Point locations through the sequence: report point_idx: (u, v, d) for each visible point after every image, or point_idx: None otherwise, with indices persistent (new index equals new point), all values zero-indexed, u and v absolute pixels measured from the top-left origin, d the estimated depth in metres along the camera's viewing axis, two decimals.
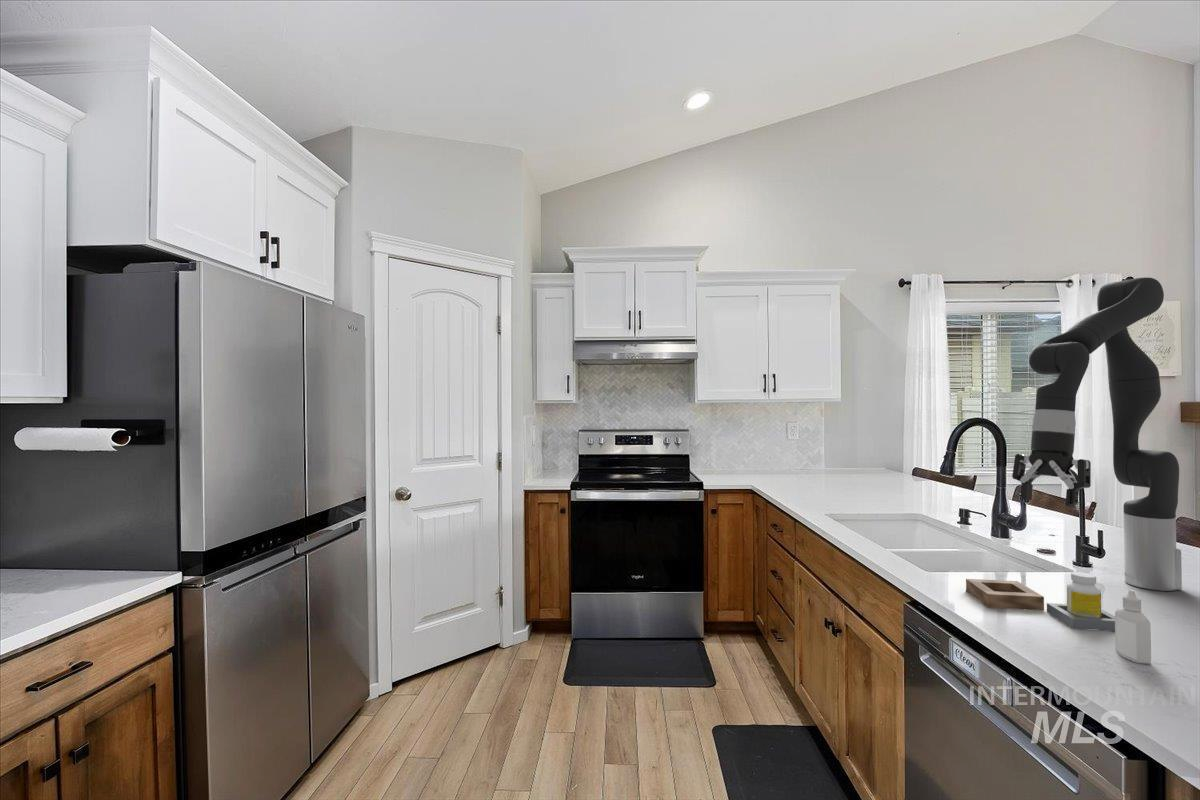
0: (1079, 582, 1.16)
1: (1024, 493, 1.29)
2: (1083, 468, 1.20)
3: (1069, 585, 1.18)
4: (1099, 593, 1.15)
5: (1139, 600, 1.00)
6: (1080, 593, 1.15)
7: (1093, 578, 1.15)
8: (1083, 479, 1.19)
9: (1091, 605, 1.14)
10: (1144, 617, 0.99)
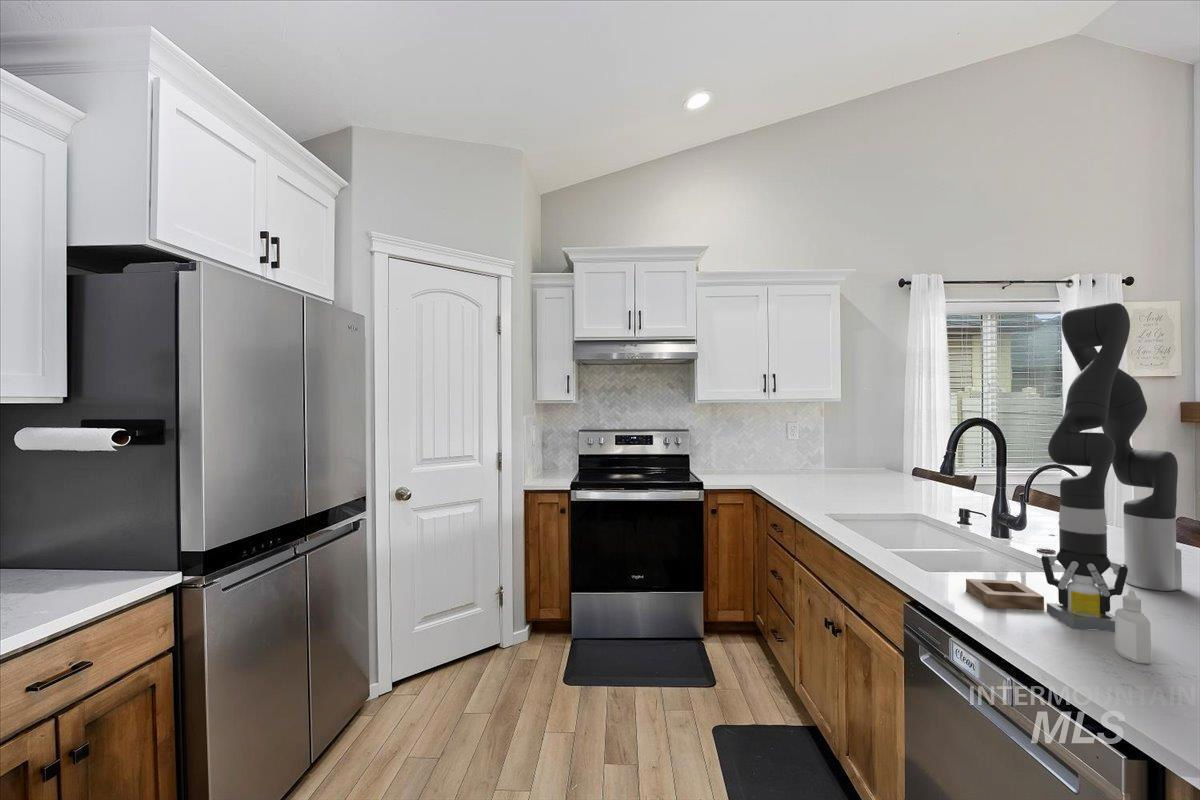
0: (1079, 582, 1.16)
1: (1064, 600, 1.18)
2: (1125, 577, 1.12)
3: (1069, 585, 1.18)
4: (1099, 593, 1.15)
5: (1139, 600, 1.00)
6: (1080, 593, 1.15)
7: (1093, 578, 1.15)
8: (1122, 588, 1.12)
9: (1091, 605, 1.14)
10: (1144, 617, 0.99)
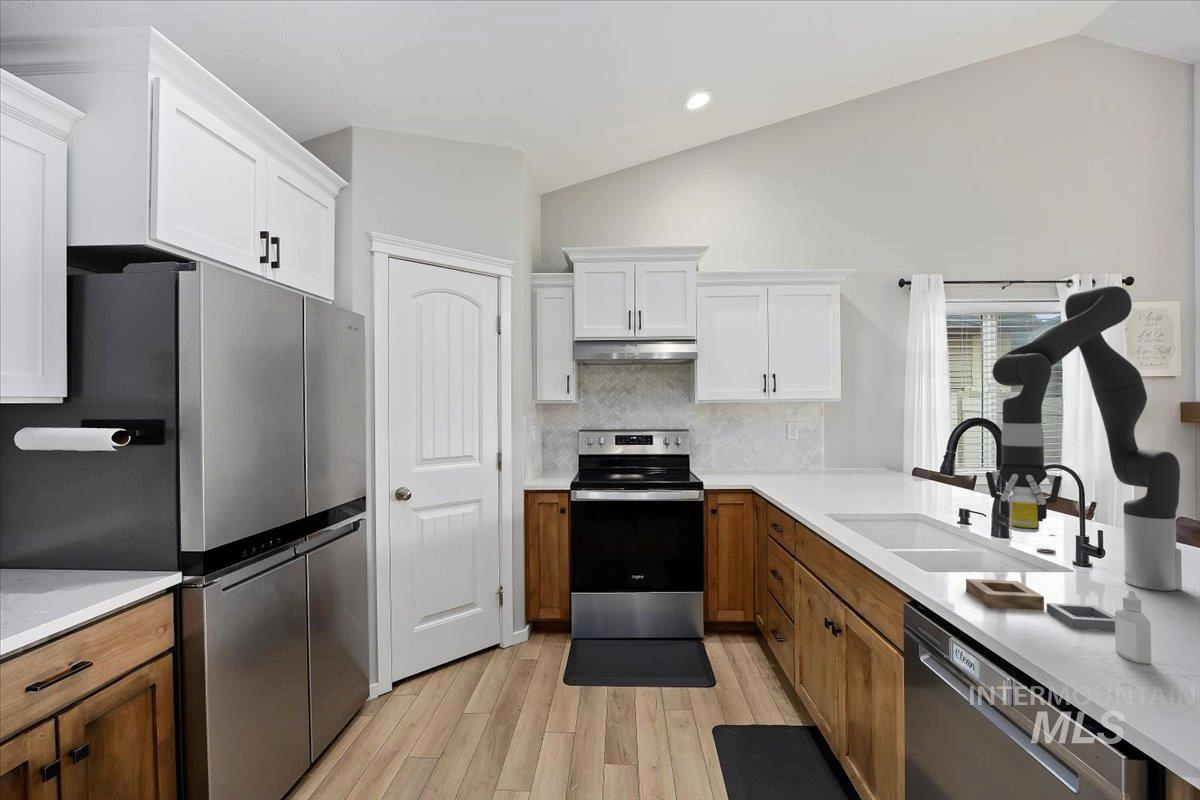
0: (1019, 493, 1.25)
1: (1006, 511, 1.27)
2: (1059, 485, 1.21)
3: (1010, 497, 1.26)
4: (1037, 502, 1.24)
5: (1139, 600, 1.00)
6: (1019, 502, 1.24)
7: (1031, 488, 1.24)
8: (1056, 495, 1.21)
9: (1029, 513, 1.23)
10: (1144, 617, 0.99)
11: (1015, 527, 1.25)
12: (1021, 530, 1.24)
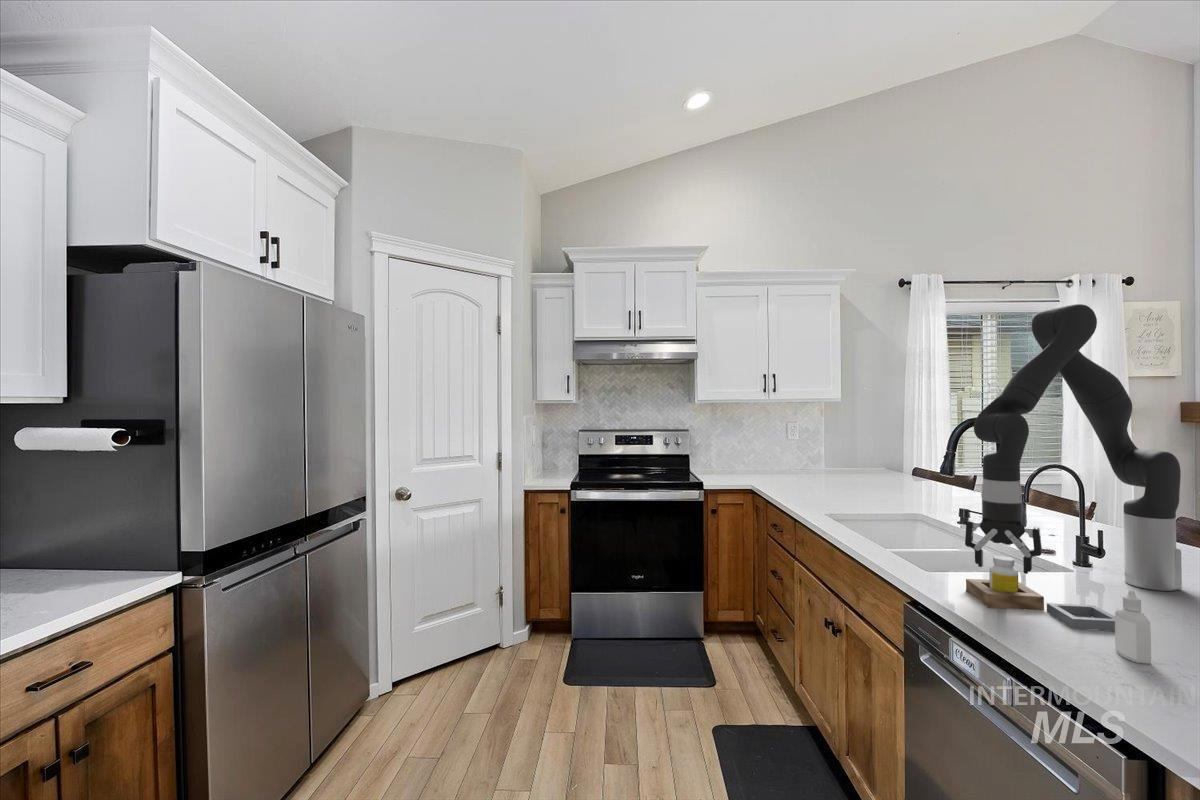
0: (999, 565, 1.29)
1: (979, 560, 1.32)
2: (1038, 538, 1.24)
3: (991, 568, 1.30)
4: (1016, 574, 1.27)
5: (1139, 600, 1.00)
6: (999, 574, 1.28)
7: (1011, 561, 1.28)
8: (1039, 548, 1.24)
9: (1008, 586, 1.27)
10: (1144, 617, 0.99)
11: None
12: None
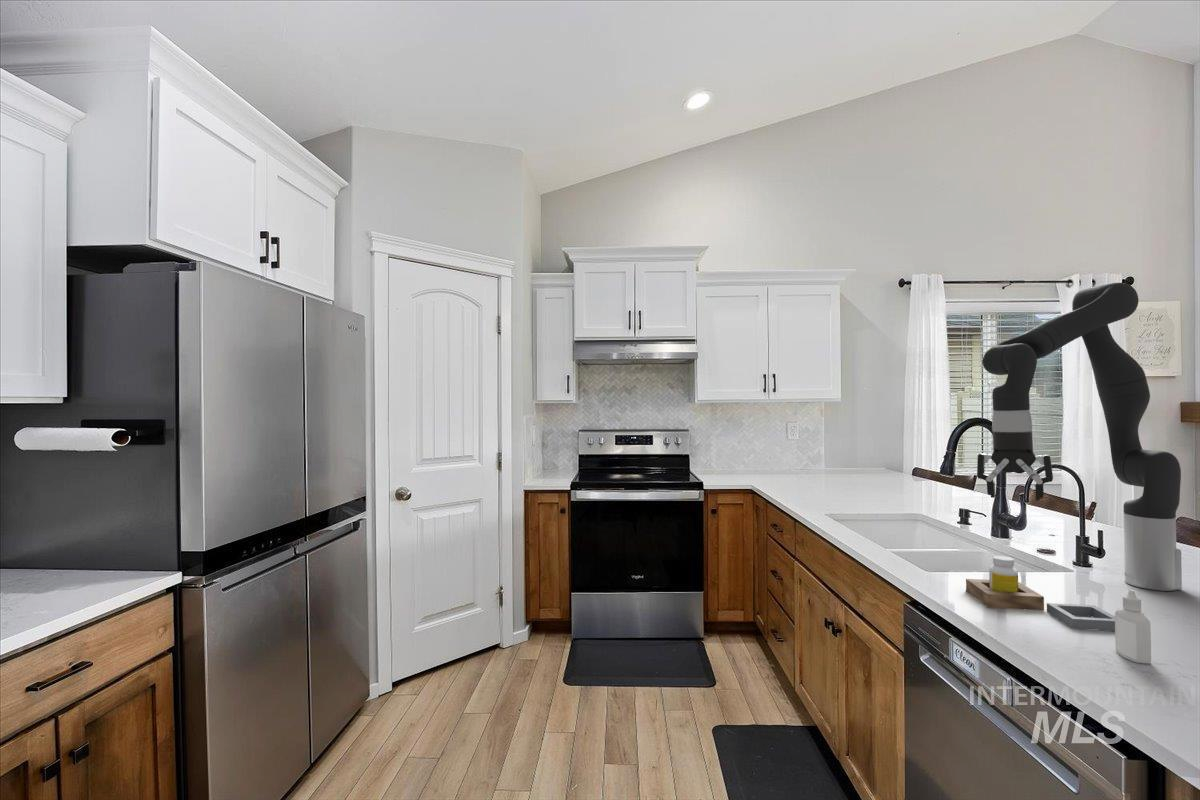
0: (999, 565, 1.29)
1: (992, 491, 1.34)
2: (1050, 464, 1.27)
3: (991, 568, 1.30)
4: (1016, 574, 1.27)
5: (1139, 600, 1.00)
6: (999, 574, 1.28)
7: (1011, 561, 1.28)
8: (1051, 474, 1.27)
9: (1008, 586, 1.27)
10: (1144, 617, 0.99)
11: None
12: None
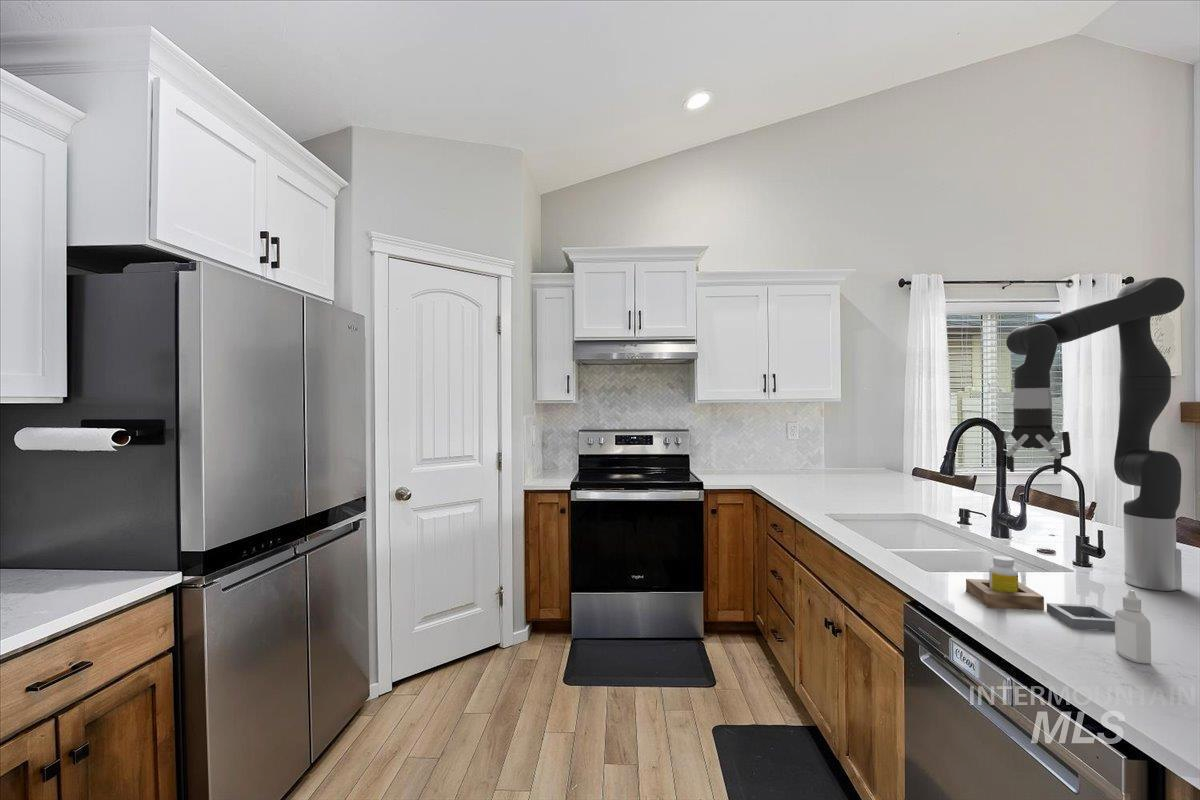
0: (999, 565, 1.29)
1: (1011, 466, 1.40)
2: (1068, 439, 1.33)
3: (991, 568, 1.30)
4: (1016, 574, 1.27)
5: (1139, 600, 1.00)
6: (999, 574, 1.28)
7: (1011, 561, 1.28)
8: (1069, 449, 1.33)
9: (1008, 586, 1.27)
10: (1144, 617, 0.99)
11: None
12: None
